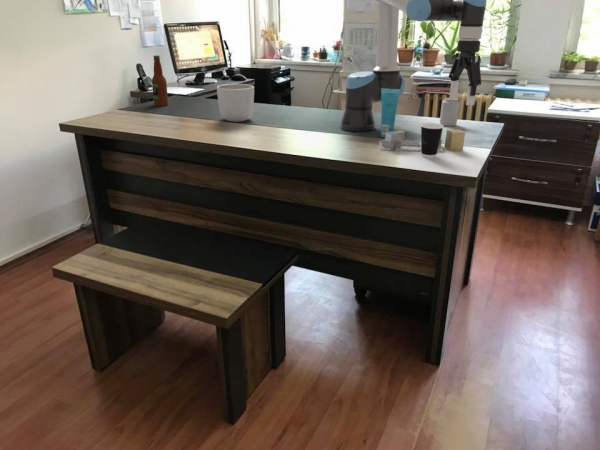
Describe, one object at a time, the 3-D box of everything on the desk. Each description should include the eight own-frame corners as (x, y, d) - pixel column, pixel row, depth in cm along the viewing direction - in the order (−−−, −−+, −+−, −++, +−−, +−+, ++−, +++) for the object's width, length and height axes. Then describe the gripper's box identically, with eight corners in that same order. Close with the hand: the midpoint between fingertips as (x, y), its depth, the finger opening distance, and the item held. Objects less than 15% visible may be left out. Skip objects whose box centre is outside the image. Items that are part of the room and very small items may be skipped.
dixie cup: (413, 156, 177) (416, 125, 173) (424, 151, 183) (427, 122, 178) (433, 160, 172) (437, 128, 168) (443, 155, 178) (447, 125, 174)
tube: (395, 135, 206) (399, 88, 198) (396, 138, 201) (400, 89, 194) (377, 134, 207) (380, 87, 199) (377, 137, 202) (381, 89, 195)
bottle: (157, 103, 267) (152, 54, 257) (170, 104, 266) (165, 55, 256) (152, 106, 260) (146, 56, 250) (165, 106, 260) (160, 56, 250)
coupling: (449, 151, 184) (452, 132, 181) (444, 148, 188) (446, 129, 186) (462, 151, 185) (465, 132, 182) (456, 147, 189) (459, 129, 186)
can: (457, 127, 222) (460, 100, 217) (439, 126, 223) (443, 99, 219) (455, 123, 229) (459, 97, 224) (438, 122, 230) (442, 96, 225)
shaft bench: (380, 150, 184) (381, 134, 181) (378, 141, 196) (380, 126, 194) (443, 152, 182) (445, 136, 179) (438, 143, 194) (440, 128, 192)
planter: (247, 115, 241) (246, 83, 235) (260, 122, 227) (259, 88, 221) (213, 118, 234) (212, 84, 228) (224, 125, 220) (223, 90, 214)
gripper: (498, 41, 162) (487, 107, 170) (463, 38, 184) (455, 96, 193) (476, 41, 161) (467, 107, 169) (444, 38, 183) (437, 96, 192)
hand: (461, 101), depth 181 cm, fingers open, 13 cm apart
